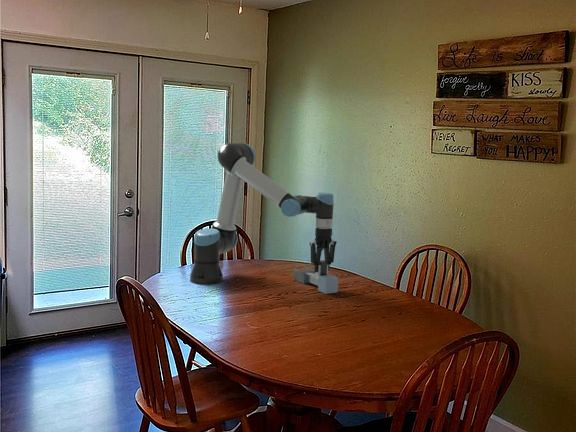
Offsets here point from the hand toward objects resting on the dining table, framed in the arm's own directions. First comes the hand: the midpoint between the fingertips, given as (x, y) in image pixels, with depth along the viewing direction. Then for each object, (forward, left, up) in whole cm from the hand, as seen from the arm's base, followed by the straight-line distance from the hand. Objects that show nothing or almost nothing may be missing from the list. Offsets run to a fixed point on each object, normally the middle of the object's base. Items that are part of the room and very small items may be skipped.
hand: (321, 278), depth 268 cm
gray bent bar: (-3, 0, -3) cm, 4 cm away
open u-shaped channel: (-14, 0, -5) cm, 15 cm away
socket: (+6, 0, -5) cm, 7 cm away
